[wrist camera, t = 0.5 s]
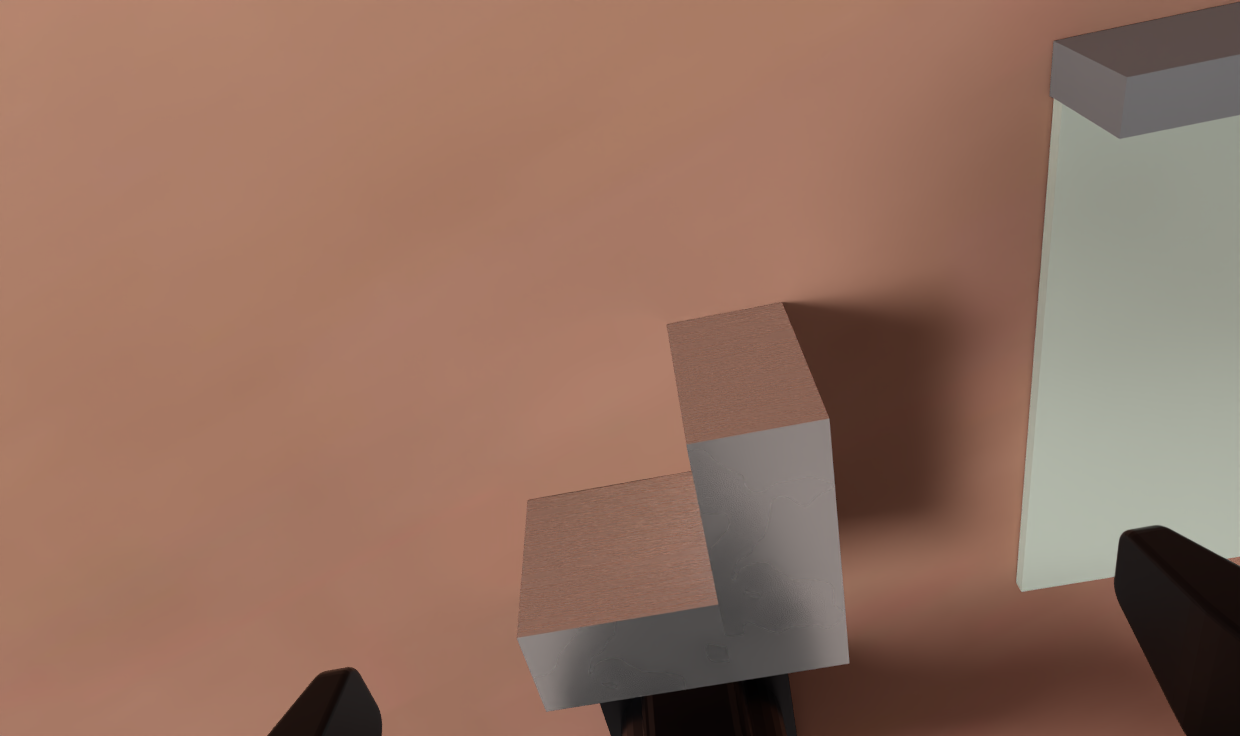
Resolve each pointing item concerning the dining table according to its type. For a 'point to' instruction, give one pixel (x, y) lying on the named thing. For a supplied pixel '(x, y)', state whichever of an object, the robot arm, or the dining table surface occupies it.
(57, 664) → the dining table surface
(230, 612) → the dining table surface
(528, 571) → the bracket
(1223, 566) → the robot arm
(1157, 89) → the corner walls
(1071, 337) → the mat
